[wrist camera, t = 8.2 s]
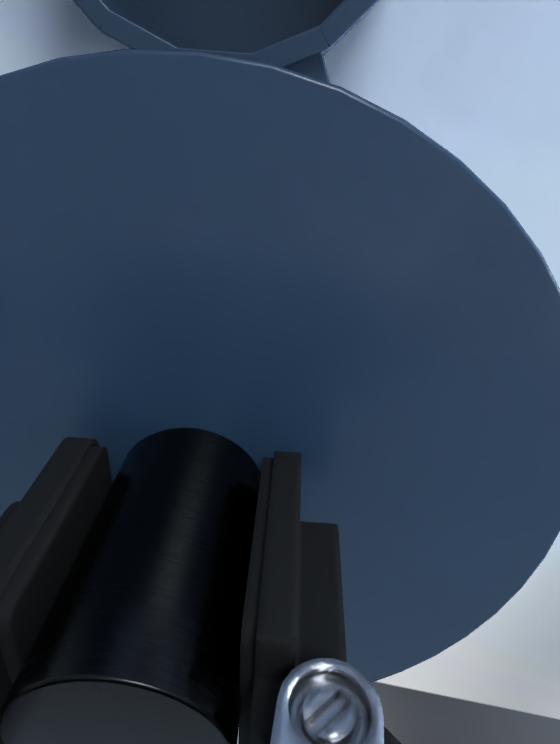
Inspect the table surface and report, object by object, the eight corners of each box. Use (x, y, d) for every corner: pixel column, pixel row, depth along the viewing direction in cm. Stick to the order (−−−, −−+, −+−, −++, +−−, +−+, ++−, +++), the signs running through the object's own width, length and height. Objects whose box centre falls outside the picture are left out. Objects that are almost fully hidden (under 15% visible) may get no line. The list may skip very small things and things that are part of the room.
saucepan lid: (526, -118, 7) (1190, -733, 2) (580, 617, 14) (750, 951, 9) (-327, 218, 10) (-1069, 376, 5) (65, 692, 17) (-50, 978, 12)
